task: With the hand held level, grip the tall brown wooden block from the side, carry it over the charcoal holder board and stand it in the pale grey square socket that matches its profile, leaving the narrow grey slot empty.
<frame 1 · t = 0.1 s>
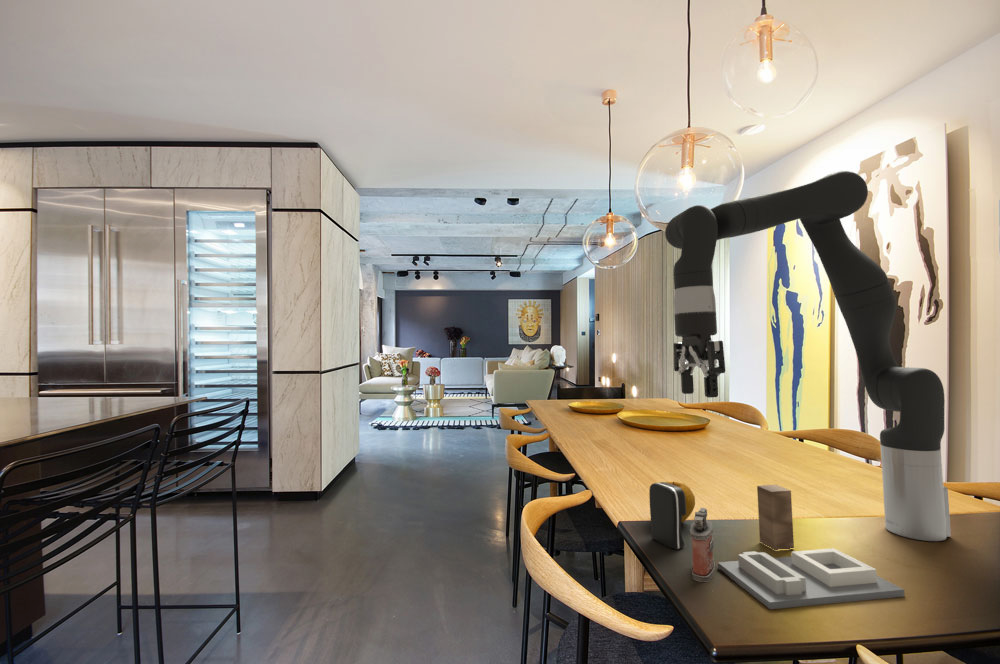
hand: (699, 395, 89), 29 cm above the table, tool pointing down, fingers open, 8 cm apart
tall brown wooden block: (776, 546, 89), on the table
apple: (674, 523, 102), on the table
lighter: (703, 572, 80), on the table
battery charger: (669, 543, 91), on the table
holder board: (804, 581, 75), on the table
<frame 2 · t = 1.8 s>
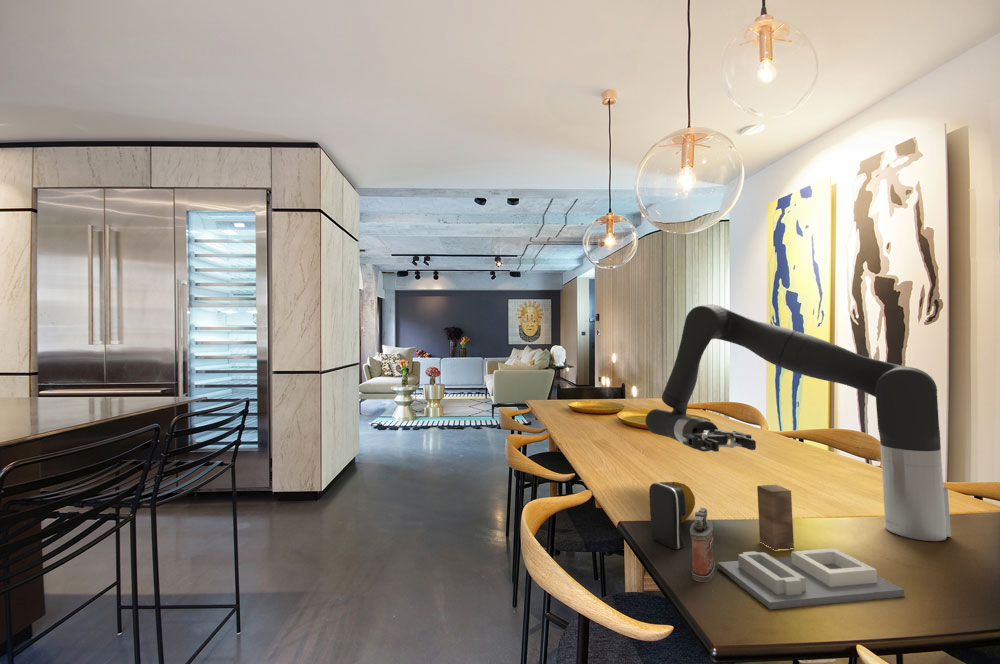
hand: (735, 446, 100), 17 cm above the table, tool horizontal, fingers open, 8 cm apart
nothing on the table moved.
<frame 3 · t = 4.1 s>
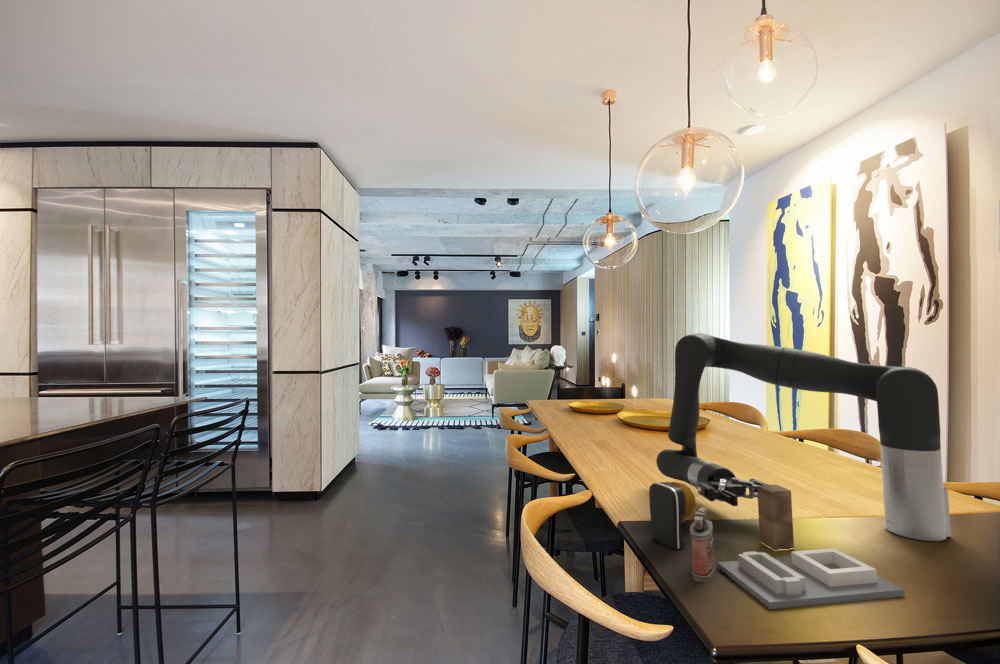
hand: (755, 500, 95), 7 cm above the table, tool horizontal, fingers open, 8 cm apart
nothing on the table moved.
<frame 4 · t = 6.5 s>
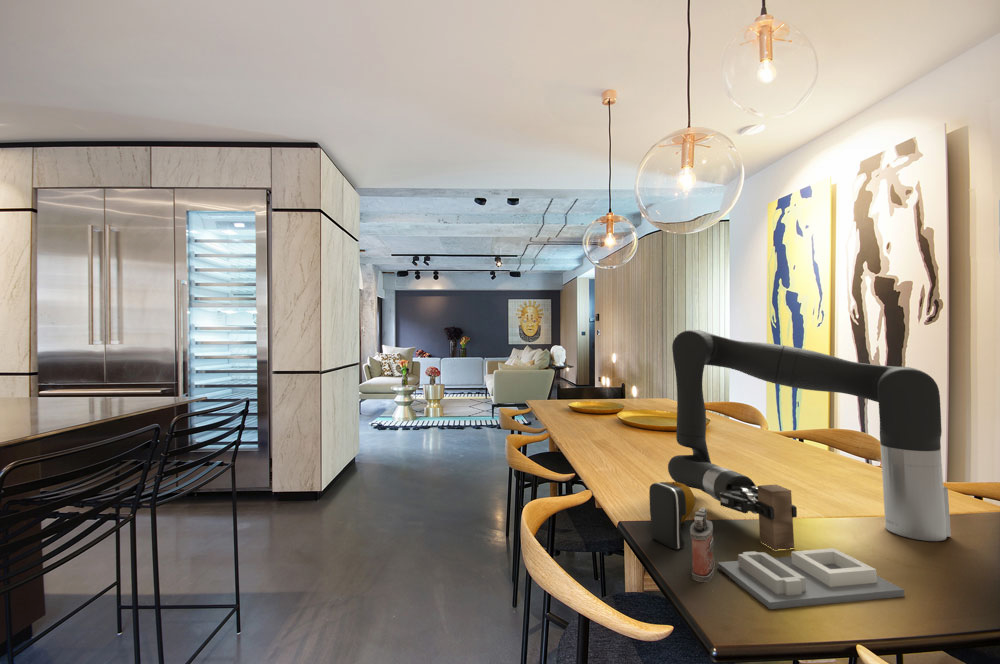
hand: (783, 512, 87), 7 cm above the table, tool horizontal, fingers closed on tall brown wooden block, 4 cm apart
tall brown wooden block: (776, 546, 89), on the table, touching gripper
everything else where it was.
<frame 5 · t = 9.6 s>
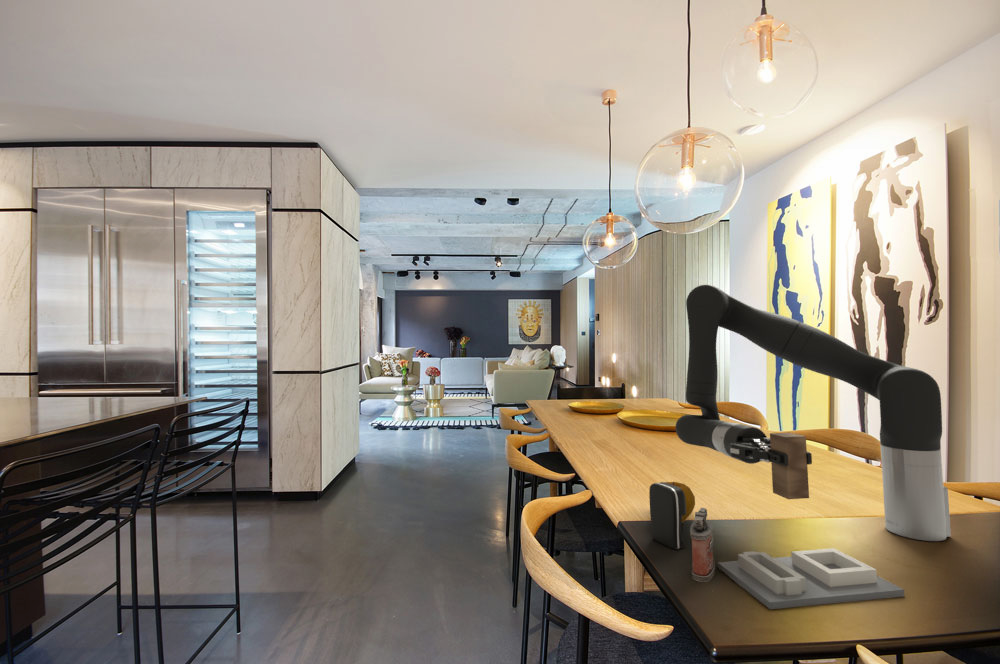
hand: (798, 459, 83), 18 cm above the table, tool horizontal, fingers closed on tall brown wooden block, 4 cm apart
tall brown wooden block: (790, 495, 85), point 11 cm above the table, touching gripper
everything else where it was.
when the fingers open (9 cm above the table, at t = 12.7 s): tall brown wooden block drops 1 cm, resting on holder board.
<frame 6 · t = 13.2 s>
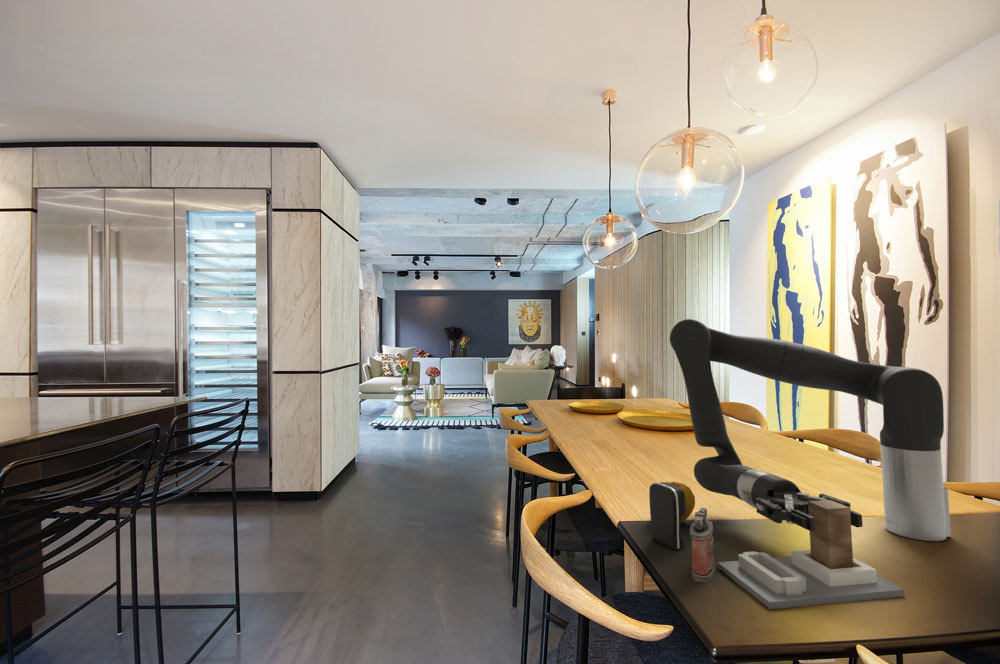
hand: (836, 522, 75), 10 cm above the table, tool horizontal, fingers open, 8 cm apart
tall brown wooden block: (832, 572, 76), point 1 cm above the table, touching holder board
everything else where it was.
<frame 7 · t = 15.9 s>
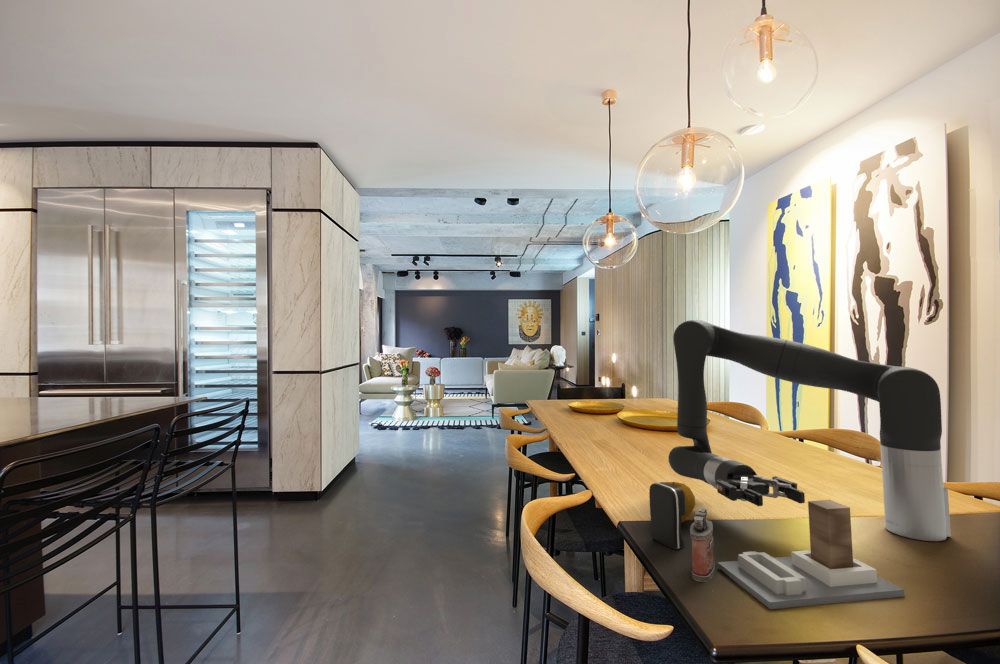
hand: (782, 499, 87), 9 cm above the table, tool horizontal, fingers open, 8 cm apart
nothing on the table moved.
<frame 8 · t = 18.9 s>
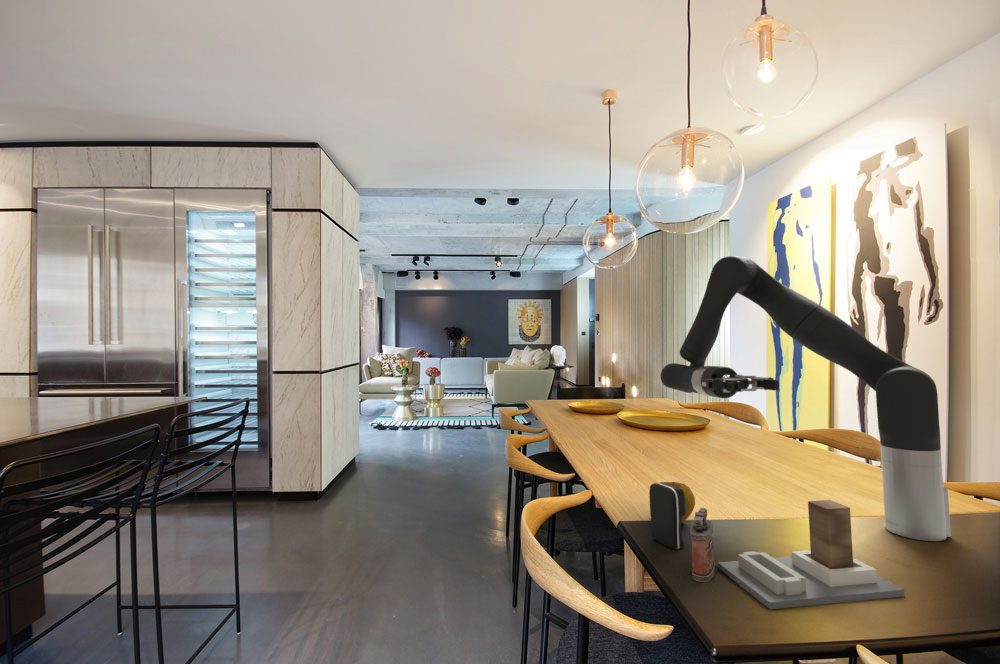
hand: (758, 385, 97), 30 cm above the table, tool horizontal, fingers open, 8 cm apart
nothing on the table moved.
at the end: tall brown wooden block 0.0 cm from the target spot on the holder board, point 1.0 cm above the holder board's base; tall brown wooden block tilted 0°; the gripper is holding nothing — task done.
